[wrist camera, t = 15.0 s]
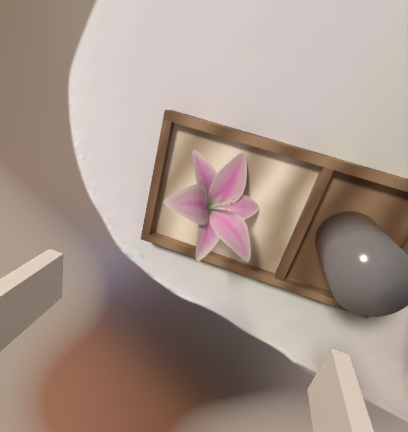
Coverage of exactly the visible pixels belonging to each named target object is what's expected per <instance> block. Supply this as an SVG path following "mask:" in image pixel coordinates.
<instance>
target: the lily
mask: <svg viewBox="0 0 408 432" xmlns="http://www.w3.org/2000/svg"><path fill="white" fill-rule="evenodd" d="M192 156H193V164H194V171H195V177H196V182H197V184H195V185H192V186H190V187H187V188H185V189H182V190H180V191H178V192H176V193H174V194H172V195H170V196H169V197H167V198H166V199H165V201H164V204H165V205H166V207H168V208H169V209H171V210H172V211H174V212H176V213H177V214H179V215H181V216H183V217H185V218H187V219H189V220H191V221H192V222H194V223H196V224H198V231H197V242H196V261H200V260H201V259H203V258H204V257H205V256H206V255H207V254H208V253H209V252H210V251H211V250H212V249H213V248H214V247H215V245H216V244H217V243H218V241H219V239H221V240H222V241H223V242H224V243H225V244H226V245H227V246H229V247H230V248H231V249H232V250H233V251H234V252H235V253H237V254H238V255H239V256H240V257H241V258H242V259H243V260H245V261H246V262H249V261H250V258H251V246H250V237H249V232H248V227H247V225H246V223H245V219H247V218H249V217H251V216H252V215H254V214H255V213H256V212H257V211H258V210H259V205H258V204H257V203H256V202H254V201H253V200H252V199H250V198H249V197H247V196H246V195H244V194H243V192H244V189H245V186H246V179H247V160H246V155H245V153H243V152H242V153H240V154H238V155H237V156H236V157H234V158H233V159H232V160H231V161H230V162H228V163H227V164H226V165H225V166H224V167H223V168H222V169H221V170H220V171H219V172H218V173H217V172H216V170H215V169H214V168H213V166H212V165H211V164H210V163H209V162H208V161H207V160H206V159H205V158H204V157H203V156H202V155H201V154H200V153H199V152H197V151H196V150H193V151H192Z"/></svg>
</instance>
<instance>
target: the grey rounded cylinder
mask: <svg viewBox="0 0 408 432" xmlns="http://www.w3.org/2000/svg"><path fill="white" fill-rule="evenodd" d="M315 246H316V249H317V252H318V255H319V258H320V261H321V263H322V266H323V269H324V272H325V275H326V278H327V280H328V283H329V286H330V289H331V292H332V294H333V296H334V298H335V300H336V301H337V302H338V303H339V304H340V305H341V306H342V307H343V308H345V309H346V310H348V311H350V312H352V313H355V314H358V315H362V316H369V317H378V316H385V315H389V314H392V313H395V312H397V311H400V310H401V309H403V308H405V307H406V306H407V305H408V255H407V254H406V253H405V252H404V251H403V250H402V249H401V248H400V247H399V246H398V245H397V244H396V243H395V242H394V241H393V240H392V239H391V238H390V237H389V236H388V235H387V234H386V233H385V231H384V230H383V229H382V228H381V227H380V226H379V225H378V224H377V223H376V222H375V221H374V220H373V219H372V218H370V217H369V216H367V215H365V214H363V213H359V212H354V211H346V212H340V213H337V214H334V215H332V216H330V217H329V218H327V219H326V220H325V221H324V222H323V223H322V224H321V225H320V226H319V228H318V229H317V232H316V235H315Z"/></svg>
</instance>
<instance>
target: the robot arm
mask: <svg viewBox="0 0 408 432" xmlns="http://www.w3.org/2000/svg"><path fill="white" fill-rule="evenodd" d="M62 277H63V254H62V253H60V252H57V251H54V250H51V249H49V250H47V251H45V252H44V253H42V254H40V255H39V256H37V257H36V258H34V259H32V260H31V261H29V262H28V263H26V264H24V265H23V266H21V267H19V268H18V269H16V270H15V271H13V272H11V273H10V274H8V275H7V276H5V277H3V278H2V279H0V351H1V350H3V349H4V348H5V347H6V346H7V345H8V344H9V343H10V342H11V341H12V340H14V339H15V338H16V337H17V336H18V335H19V334H21V333H22V332H23V331H24V330H25V329H26V328H27V327H29V326H30V325H31V324H32V323H33V322H34V321H35V320H37V319H38V318H39V317H40V316H41V315H42V314H43V313H44V312H46V311H47V310H48V309H49V308H50V307H51V306H52V305H54V304H55V303H56V302H57V301H58V300H59V299H60V298H62ZM307 390H308V398H309V406H310V413H311V420H312V429H313V432H374V431H373V428H372V425H371V421H370V418H369V415H368V412H367V409H366V406H365V403H364V400H363V396H362V393H361V390H360V387H359V384H358V381H357V378H356V375H355V371H354V368H353V365H352V362H351V359H350V356H349V355H348V354H345V353H342V352H340V351H337V350H334V349H331V350H330V352H329V353H328V355H327V357H326V359H325V360H324V362H323V364H322V365H321V367H320V369H319V371H318V372H317V374H316V376H315V377H314V379H313V381H312V383H311V384H310V386H309V388H308V389H307Z"/></svg>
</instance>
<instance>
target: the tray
mask: <svg viewBox="0 0 408 432" xmlns="http://www.w3.org/2000/svg"><path fill="white" fill-rule="evenodd" d="M193 150H196V151H197V152H199V153H200V154H201V155H202V156H203V157H204V158H205V159H206V160H207V161H208V162H209V163H210V164H211V165H212V166H213V168H214V169H215V170H216V172H217V173H218V172H219V171H220V170H221V169H222V168H223V167H224V166H225V165H226V164H227V163H228V162H230V161H231V160H232V159H233V158H234V157H236V156H237V155H238V154H240V153H242V152H243V153H245V155H246V160H247V179H246V186H245V189H244V192H243V194H244V195H246V196H247V197H249V198H250V199H252V200H253V201H254V202H256V203H257V204H258V205H259V210H258V211H257V212H256V213H255V214H254V215H252V216H251V217H249V218H247V219H245V223H246V225H247V227H248V232H249V237H250V246H251V258H250V261H249V262H246V261H245V260H243V259H242V258H241V257H240V256H239V255H238V254H237V253H235V252H234V251H233V250H232V249H231V248H230V247H229V246H227V245H226V244H225V243H224V242H223V241H222V240H221V239H219V241H218V243H217V244H216V245H215V247H214V248H213V249H212V250H211V251H210V252H209V253H208V254H207V255H206V256H205V257H204V258H203V259H201V260H202V261H205V262H208V263H211V264H214V265H217V266H220V267H223V268H225V269H228V270H231V271H234V272H237V273H240V274H243V275H246V276H248V277H251V278H254V279H257V280H260V281H263V282H266V283H269V284H271V285H274V286H277V287H280V288H283V289H286V290H289V291H292V292H294V293H297V294H300V295H303V296H306V297H309V298H312V299H315V300H317V301H320V302H323V303H326V304H329V305H332V306H335V307H338V308H340V309H343V310H346V309H345V308H343V307H342V306H341V305H340V304H339V303H338V302H337V301H336V300H335V298H334V296H333V294H332V292H331V289H330V286H329V283H328V280H327V278H326V275H325V272H324V269H323V266H322V263H321V261H320V258H319V255H318V252H317V249H316V246H315V235H316V232H317V229H318V228H319V226H320V225H321V224H322V223H323V222H324V221H325V220H326V219H327V218H329V217H330V216H332V215H334V214H337V213H340V212H346V211H354V212H359V213H363V214H365V215H367V216H369V217H370V218H372V219H373V220H374V221H375V222H376V223H377V224H378V225H379V226H380V227H381V228H382V229H383V230H384V231H385V233H386V234H387V235H388V236H389V237H390V238H391V239H392V240H393V241H394V242H395V243H396V244H397V245H398V246H399V247H400V248H401V249H402V250H403V251H404V252H405V253H406V254H407V255H408V179H406V178H402V177H399V176H395V175H392V174H389V173H385V172H382V171H378V170H375V169H371V168H368V167H365V166H361V165H358V164H354V163H351V162H347V161H344V160H341V159H337V158H334V157H330V156H327V155H323V154H320V153H317V152H313V151H310V150H306V149H303V148H300V147H296V146H293V145H289V144H286V143H282V142H279V141H276V140H272V139H269V138H265V137H262V136H258V135H255V134H252V133H248V132H245V131H241V130H238V129H234V128H231V127H228V126H224V125H221V124H217V123H214V122H211V121H207V120H204V119H200V118H197V117H193V116H190V115H187V114H183V113H180V112H176V111H173V110H165V112H164V118H163V123H162V128H161V134H160V139H159V144H158V150H157V155H156V160H155V166H154V171H153V176H152V182H151V187H150V192H149V198H148V203H147V208H146V214H145V219H144V224H143V230H142V235H141V239H142V240H145V241H148V242H151V243H154V244H156V245H159V246H162V247H165V248H168V249H171V250H174V251H177V252H179V253H182V254H185V255H188V256H191V257H194V258H196V242H197V231H198V224H196V223H194V222H192V221H191V220H189V219H187V218H185V217H183V216H181V215H179V214H177V213H176V212H174V211H172V210H171V209H169V208H168V207H166V205H165V204H164V201H165V199H166V198H167V197H169V196H170V195H172V194H174V193H176V192H178V191H180V190H182V189H185V188H187V187H190V186H192V185H195V184H197V182H196V177H195V171H194V164H193V156H192V151H193ZM346 311H348V310H346ZM349 312H350V311H349ZM361 316H362V315H361ZM363 317H366V318H369V316H363Z"/></svg>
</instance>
